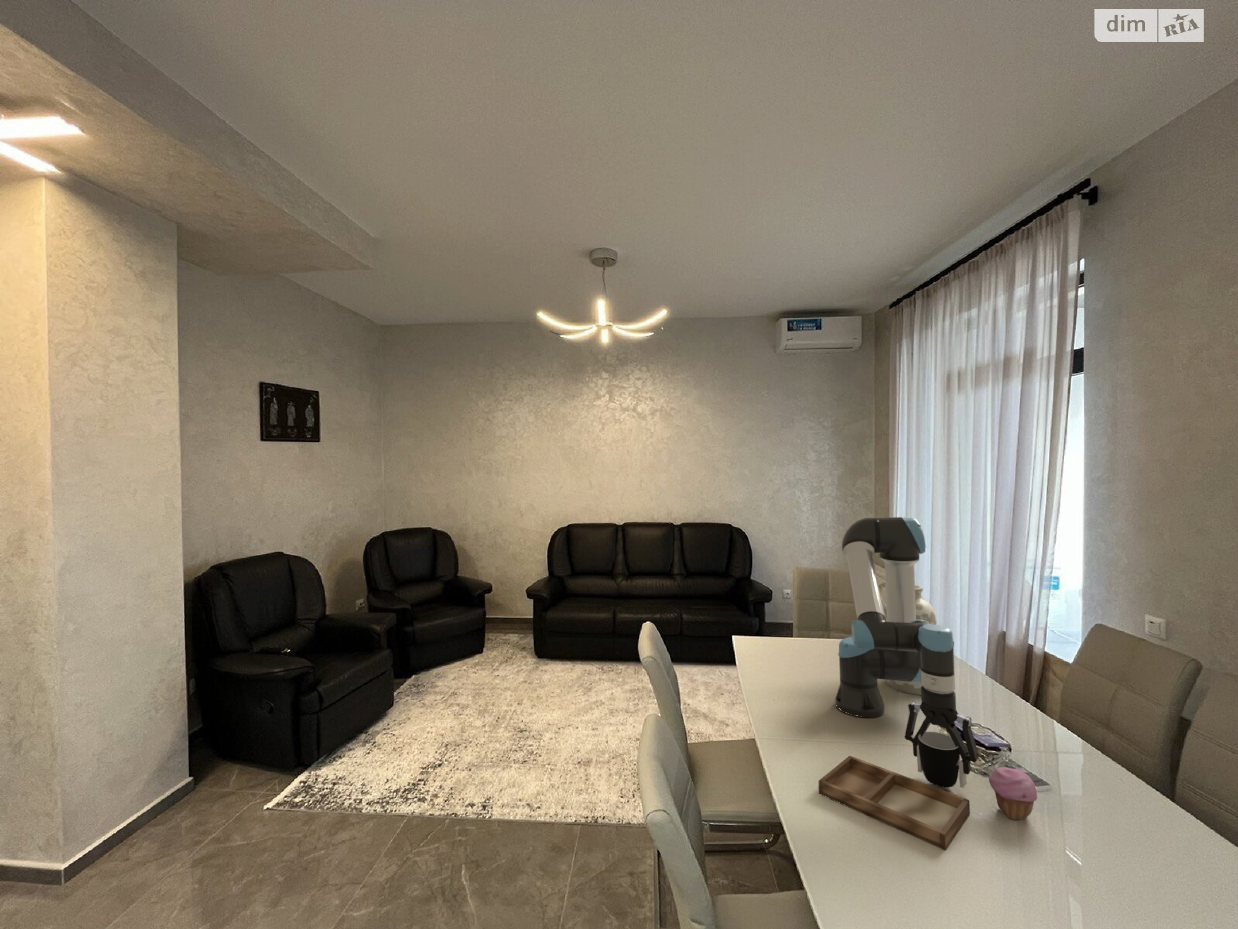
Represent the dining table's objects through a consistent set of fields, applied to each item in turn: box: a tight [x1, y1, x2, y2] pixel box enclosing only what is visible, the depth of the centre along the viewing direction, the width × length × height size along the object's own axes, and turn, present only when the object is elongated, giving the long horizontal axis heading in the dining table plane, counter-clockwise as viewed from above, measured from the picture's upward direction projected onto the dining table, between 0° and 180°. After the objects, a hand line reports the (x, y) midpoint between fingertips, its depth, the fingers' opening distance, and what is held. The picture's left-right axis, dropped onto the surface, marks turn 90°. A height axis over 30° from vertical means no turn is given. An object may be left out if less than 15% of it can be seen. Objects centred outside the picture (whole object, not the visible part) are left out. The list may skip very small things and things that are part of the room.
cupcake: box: [988, 766, 1038, 821], centre depth 121 cm, size 9×9×10 cm
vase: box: [879, 581, 938, 696], centre depth 197 cm, size 20×19×38 cm
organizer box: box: [818, 755, 971, 851], centre depth 127 cm, size 28×17×3 cm, turn 42°
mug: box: [918, 731, 961, 789], centre depth 134 cm, size 12×9×10 cm
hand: (941, 777), depth 134 cm, fingers closed on mug, 9 cm apart
